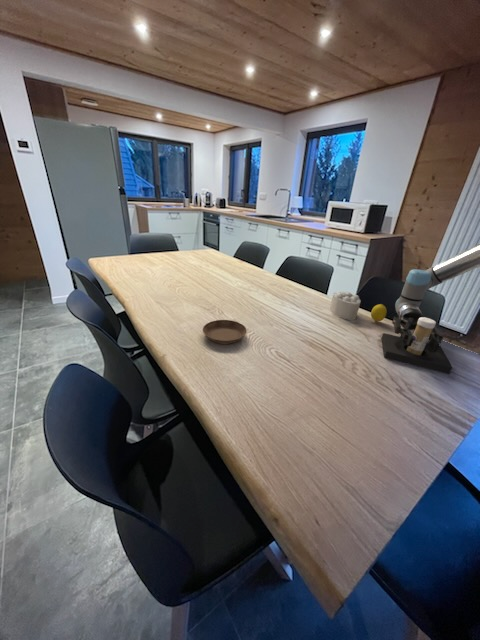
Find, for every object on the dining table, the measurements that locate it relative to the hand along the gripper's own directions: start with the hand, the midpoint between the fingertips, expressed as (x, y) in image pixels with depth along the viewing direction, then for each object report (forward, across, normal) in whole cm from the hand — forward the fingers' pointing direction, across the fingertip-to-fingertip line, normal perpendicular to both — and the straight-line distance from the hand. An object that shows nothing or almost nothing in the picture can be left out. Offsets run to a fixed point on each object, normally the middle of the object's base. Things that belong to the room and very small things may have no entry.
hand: (423, 345), depth 80 cm
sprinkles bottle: (-5, 0, -7) cm, 9 cm away
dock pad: (-6, 0, -7) cm, 9 cm away
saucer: (+14, +60, -7) cm, 62 cm away
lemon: (-29, +10, -7) cm, 32 cm away
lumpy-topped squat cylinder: (-31, +23, -7) cm, 39 cm away
